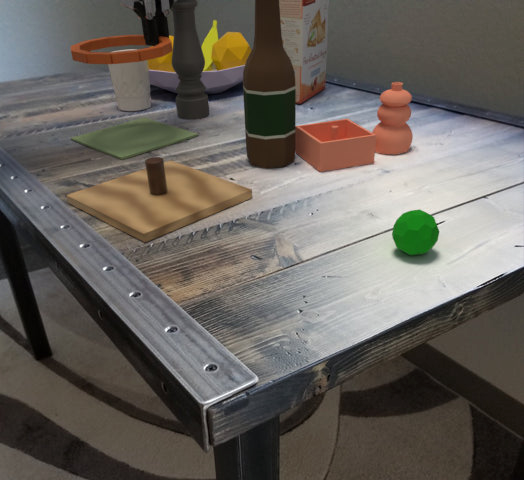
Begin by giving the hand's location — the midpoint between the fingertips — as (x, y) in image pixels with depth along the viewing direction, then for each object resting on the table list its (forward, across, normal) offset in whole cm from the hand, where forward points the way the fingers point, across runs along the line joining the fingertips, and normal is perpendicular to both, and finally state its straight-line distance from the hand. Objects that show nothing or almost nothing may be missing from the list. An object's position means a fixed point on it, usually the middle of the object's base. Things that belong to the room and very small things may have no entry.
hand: (157, 43), depth 98 cm
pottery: (+14, -11, +35) cm, 39 cm away
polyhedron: (+14, +12, +60) cm, 63 cm away
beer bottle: (+14, 0, +26) cm, 30 cm away
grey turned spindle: (+14, -8, -3) cm, 17 cm away
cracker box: (+14, -32, +4) cm, 36 cm away
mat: (+14, +8, 0) cm, 16 cm away
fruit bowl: (+14, -24, -19) cm, 34 cm away
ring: (0, +7, 0) cm, 7 cm away
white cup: (+14, -4, -17) cm, 23 cm away
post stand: (+14, +22, +26) cm, 36 cm away
